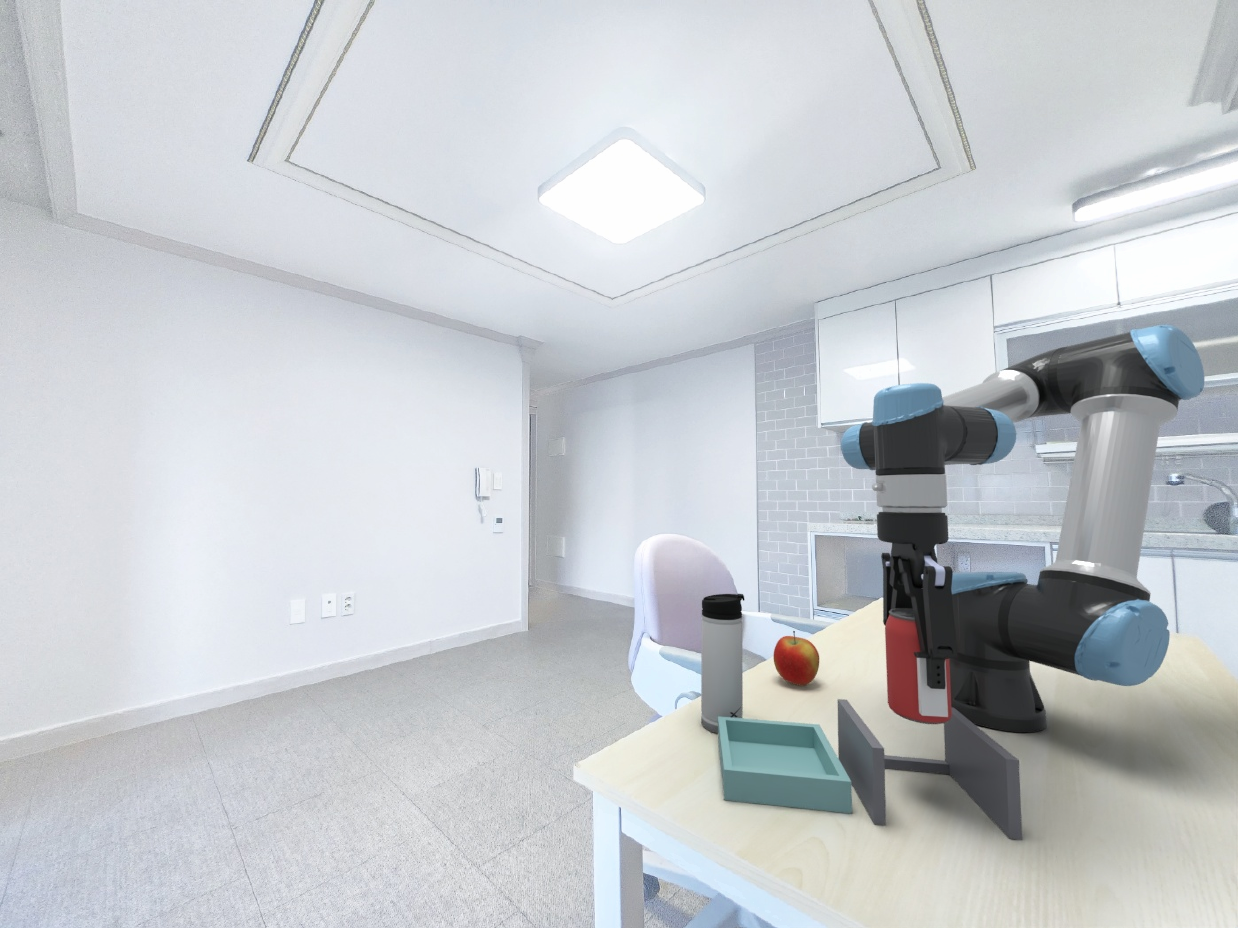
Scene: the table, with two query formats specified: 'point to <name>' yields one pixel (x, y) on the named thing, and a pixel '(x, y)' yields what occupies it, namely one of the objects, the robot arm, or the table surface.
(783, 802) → the tray
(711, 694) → the travel mug
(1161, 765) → the table surface
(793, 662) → the apple
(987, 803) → the bay
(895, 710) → the beer can
